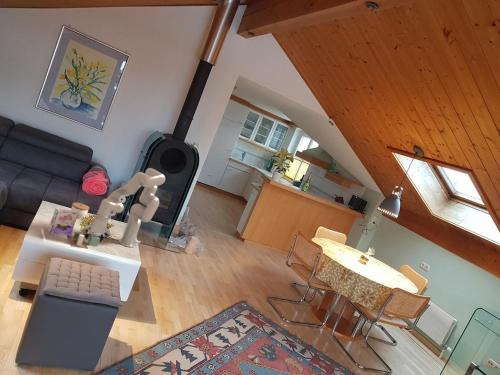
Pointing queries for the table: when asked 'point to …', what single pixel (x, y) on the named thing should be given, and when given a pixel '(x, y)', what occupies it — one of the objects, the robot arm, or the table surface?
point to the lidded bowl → (80, 209)
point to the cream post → (80, 240)
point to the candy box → (63, 221)
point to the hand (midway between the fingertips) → (93, 239)
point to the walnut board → (74, 240)
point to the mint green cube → (93, 240)
